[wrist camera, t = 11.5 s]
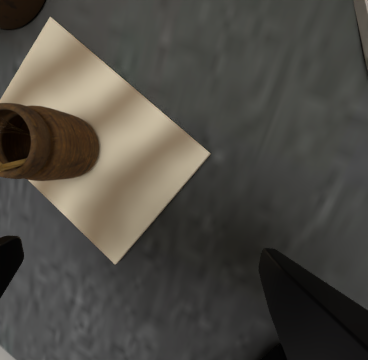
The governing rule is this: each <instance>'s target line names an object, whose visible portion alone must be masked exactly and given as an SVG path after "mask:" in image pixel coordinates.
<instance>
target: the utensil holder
mask: <svg viewBox="0 0 368 360" xmlns="http://www.w3.org/2000/svg"><path fill="white" fill-rule="evenodd" d="M98 153H99V143H98V138H97V135H96V133H95V131H94V130H93V128H92V127H91V126H90V125H89V124H88V123H87V122H86V121H84V120H83V119H81V118H79V117H76V116H74V115H71V114H68V113H65V112H61V111H58V110H55V109H51V108H47V107H43V106H33V105H31V106H25V105H21V104H16V103H0V177H5V178H13V179H22V178H25V179H28V180H33V181H51V180H61V179H70V178H75V177H79V176H82V175H84V174H85V173H87V172H88V171H89V170H90V169H91V168H92V167H93V166H94V164H95V162H96V160H97V157H98Z"/></svg>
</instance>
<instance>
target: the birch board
mask: <svg viewBox="0 0 368 360" xmlns="http://www.w3.org/2000/svg"><path fill="white" fill-rule="evenodd" d="M0 103H16V104H21V105H25V106H31V105H33V106H43V107H47V108H51V109H55V110H58V111H61V112H65V113H68V114H71V115H74V116H76V117H79V118H81V119H83V120H84V121H86V122H87V123H88V124H89V125H90V126H91V127H92V128H93V130H94V131H95V133H96V135H97V138H98V143H99V153H98V157H97V160H96V162H95V164H94V166H93V167H92V168H91V169H90V170H89V171H88V172H87V173H85V174H84V175H82V176H79V177H75V178H70V179H61V180H51V181H33V180H29V181H30V182H31V183H32V184H33V185H34V186H35V187H36V188H37V189H38V190H39V191H40V192H41V193H42V194H43V195H44V196H45V197H46V198H47V199H48V200H49V201H50V202H51V203H52V204H53V205H55V206H56V207H57V208H58V209H59V210H60V211H61V212H62V213H63V214H64V215H65V216H66V217H67V218H68V219H69V220H70V221H71V222H72V223H73V224H74V225H75V226H76V227H77V228H78V229H79V230H80V231H81V232H82V233H83V234H84V235H85V236H86V237H87V238H88V239H89V240H90V241H91V242H92V243H93V244H95V245H96V246H97V247H98V248H99V249H100V250H101V251H102V252H103V253H104V254H105V255H106V256H107V257H108V258H109V259H110V260H111V261H112V262H113V263H114V264H117V263H118V262H119V261H120V260H121V259H122V258H123V256H124V255H125V254H126V253H127V252H128V251H129V249H130V248H131V247H132V246H133V245H134V244H135V242H136V241H137V240H138V239H139V238H140V237H141V235H142V234H143V233H144V232H145V231H146V229H147V228H148V227H149V226H150V225H151V224H152V222H153V221H154V220H155V219H156V218H157V217H158V215H159V214H160V213H161V212H162V211H163V210H164V208H165V207H166V206H167V205H168V204H169V203H170V201H171V200H172V199H173V198H174V197H175V196H176V194H177V193H178V192H179V191H180V190H181V189H182V187H183V186H184V185H185V184H186V183H187V182H188V180H189V179H190V178H191V177H192V176H193V175H194V173H195V172H196V171H197V170H198V169H199V167H200V166H201V165H202V164H203V163H204V162H205V160H206V159H207V158H208V157H209V156H210V155H211V153H209V152H208V151H207V150H206V149H205V148H204V147H202V146H201V145H200V144H199V143H198V142H197V141H195V140H194V139H193V138H192V137H191V136H190V135H188V134H187V133H186V132H185V131H184V130H183V129H181V128H180V127H179V126H178V125H177V124H176V123H174V122H173V121H172V120H171V119H170V118H169V117H167V116H166V115H165V114H164V113H163V112H161V111H160V110H159V109H158V108H157V107H156V106H154V105H153V104H152V103H151V102H150V101H149V100H147V99H146V98H145V97H144V96H143V95H142V94H140V93H139V92H138V91H137V90H136V89H135V88H133V87H132V86H131V85H130V84H129V83H128V82H126V81H125V80H124V79H123V78H122V77H120V76H119V75H118V74H117V73H116V72H115V71H113V70H112V69H111V68H110V67H109V66H108V65H106V64H105V63H104V62H103V61H102V60H101V59H99V58H98V57H97V56H96V55H95V54H94V53H92V52H91V51H90V50H89V49H88V48H87V47H85V46H84V45H83V44H82V43H81V42H79V41H78V40H77V39H76V38H75V37H74V36H72V35H71V34H70V33H69V32H68V31H67V30H65V29H64V28H63V27H62V26H61V25H60V24H58V23H57V22H56V21H55V20H54V19H52V18H51V17H50V18H49V19H48V21H47V23H46V24H45V26H44V28H43V29H42V31H41V33H40V34H39V36H38V38H37V39H36V41H35V43H34V44H33V46H32V48H31V49H30V51H29V53H28V54H27V56H26V58H25V59H24V61H23V63H22V64H21V66H20V68H19V69H18V71H17V73H16V74H15V76H14V78H13V80H12V81H11V83H10V85H9V86H8V88H7V90H6V91H5V93H4V95H3V96H2V98H1V100H0Z"/></svg>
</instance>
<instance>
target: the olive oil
mask: <svg viewBox="0 0 368 360" xmlns="http://www.w3.org/2000/svg"><path fill="white" fill-rule="evenodd" d="M44 2H45V0H0V28H2V29H15V28H18V27H21V26H23V25H25V24H27V23H28V22H30V21H31V20H32V19H33V18H34V17H35V16H36V15H37V13H38V12H39V11H40V9H41V8H42V6H43V4H44Z"/></svg>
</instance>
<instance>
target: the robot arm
mask: <svg viewBox="0 0 368 360" xmlns="http://www.w3.org/2000/svg"><path fill="white" fill-rule="evenodd" d="M23 259H24V252H23V247H22V242H21V238H20V237H18V236H4V237H1V238H0V298H1V296H2V295H3V293H4V292H5V290H6V288H7V287H8V285H9V283H10V282H11V280H12V278H13V277H14V275H15V273H16V272H17V270H18V269H19V267H20V265H21V264H22V262H23ZM259 274H260V278H261V282H262V286H263V289H264V293H265V297H266V301H267V305H268V308H269V312H270V315H271V317H272V320H273V323H274V326H275V328H276V331H277V334H278V336H279V339H280V342H281V344H280V345H278V346H276V347H275V348H274V349H273V350H271V351H270V352H269V353H268V354H267V355H266V356H264V357H263V358H262V359H261V360H368V310H366V309H365V308H363V307H362V306H360V305H359V304H357V303H356V302H354V301H353V300H351V299H350V298H348V297H347V296H345V295H344V294H342V293H341V292H339V291H338V290H336V289H335V288H333V287H332V286H330V285H329V284H327V283H326V282H324V281H322V280H321V279H319V278H318V277H316V276H315V275H313V274H312V273H310V272H309V271H307V270H306V269H304V268H303V267H301V266H300V265H298V264H297V263H295V262H294V261H292V260H291V259H289V258H288V257H286V256H285V255H283V254H282V253H280V252H279V251H277V250H276V249H272V248H264V249H263V250H262V253H261V258H260V263H259Z"/></svg>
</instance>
